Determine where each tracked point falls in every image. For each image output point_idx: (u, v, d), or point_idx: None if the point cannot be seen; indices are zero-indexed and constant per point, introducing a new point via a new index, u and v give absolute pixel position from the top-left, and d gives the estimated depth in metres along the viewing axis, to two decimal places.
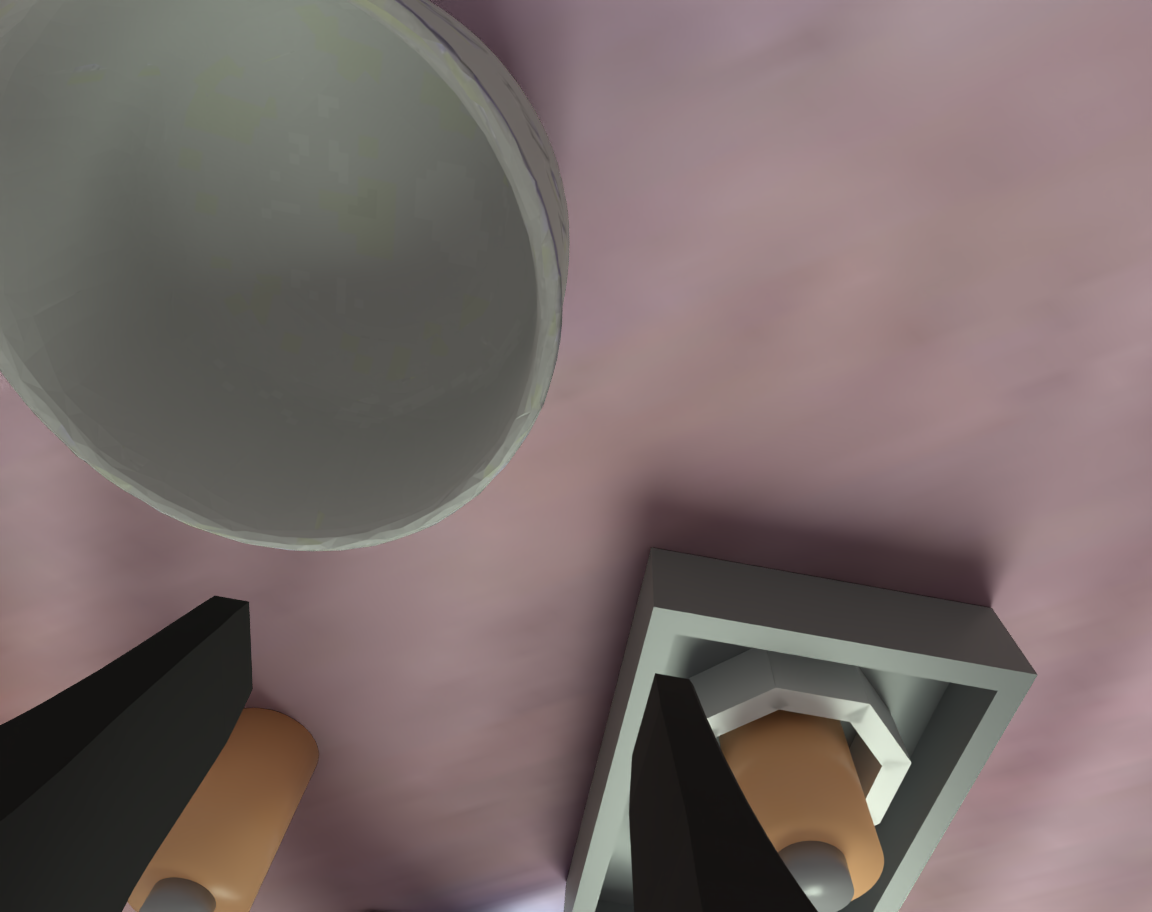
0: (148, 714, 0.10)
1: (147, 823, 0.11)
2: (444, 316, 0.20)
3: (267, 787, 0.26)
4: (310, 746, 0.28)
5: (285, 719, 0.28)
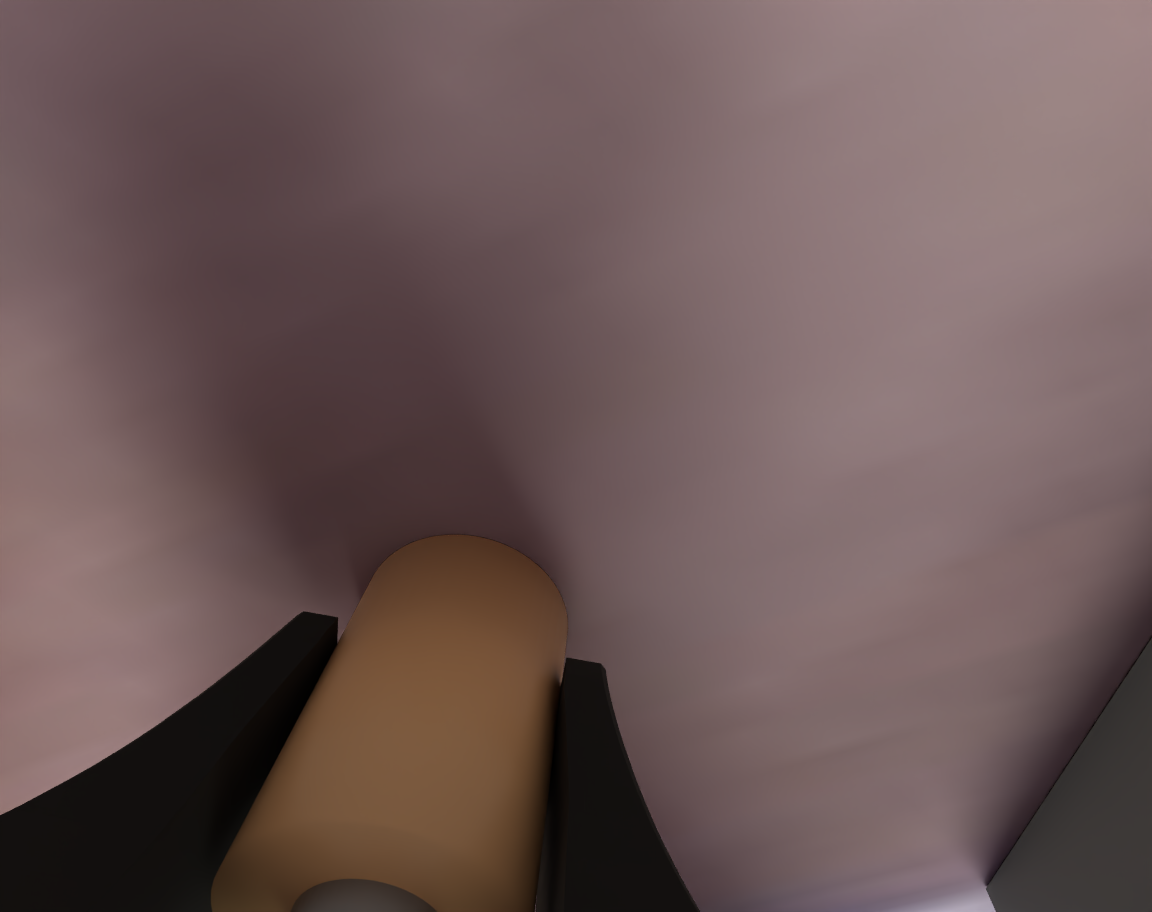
0: (259, 734, 0.10)
1: None
2: None
3: (521, 677, 0.11)
4: (562, 615, 0.14)
5: (516, 556, 0.14)
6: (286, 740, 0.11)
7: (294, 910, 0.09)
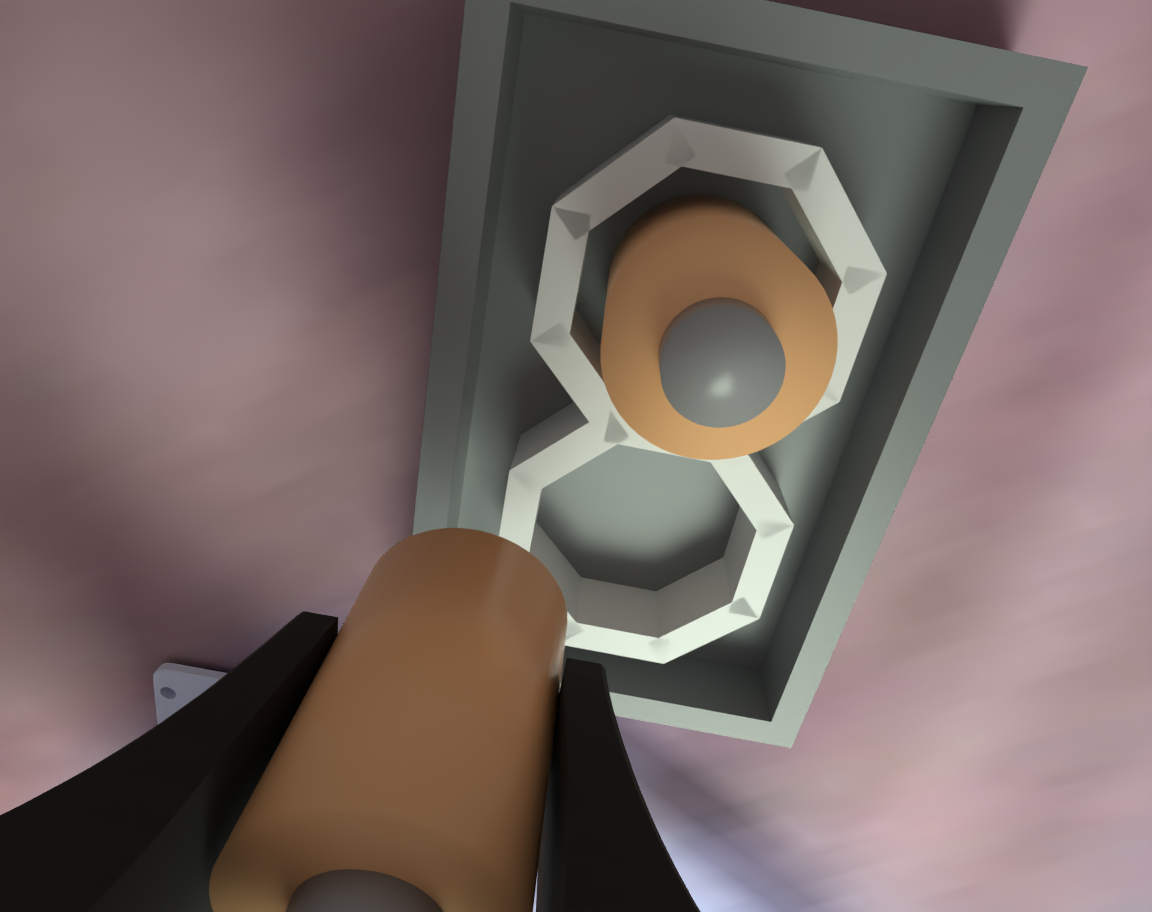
0: (258, 734, 0.10)
1: None
2: None
3: (521, 670, 0.11)
4: (562, 609, 0.14)
5: (516, 550, 0.14)
6: None
7: (293, 900, 0.09)
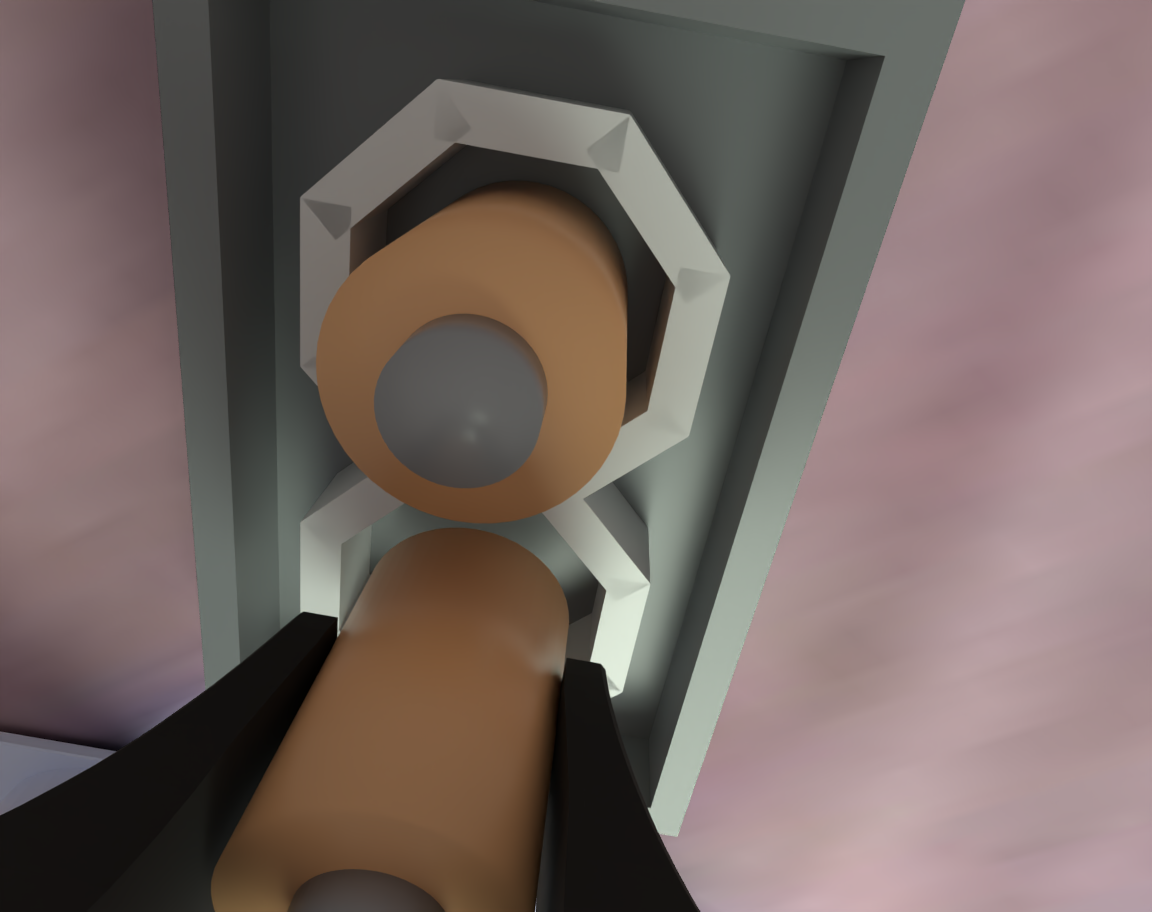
0: (258, 734, 0.10)
1: None
2: None
3: (523, 669, 0.11)
4: (564, 608, 0.14)
5: (518, 550, 0.14)
6: (287, 731, 0.11)
7: (295, 900, 0.09)
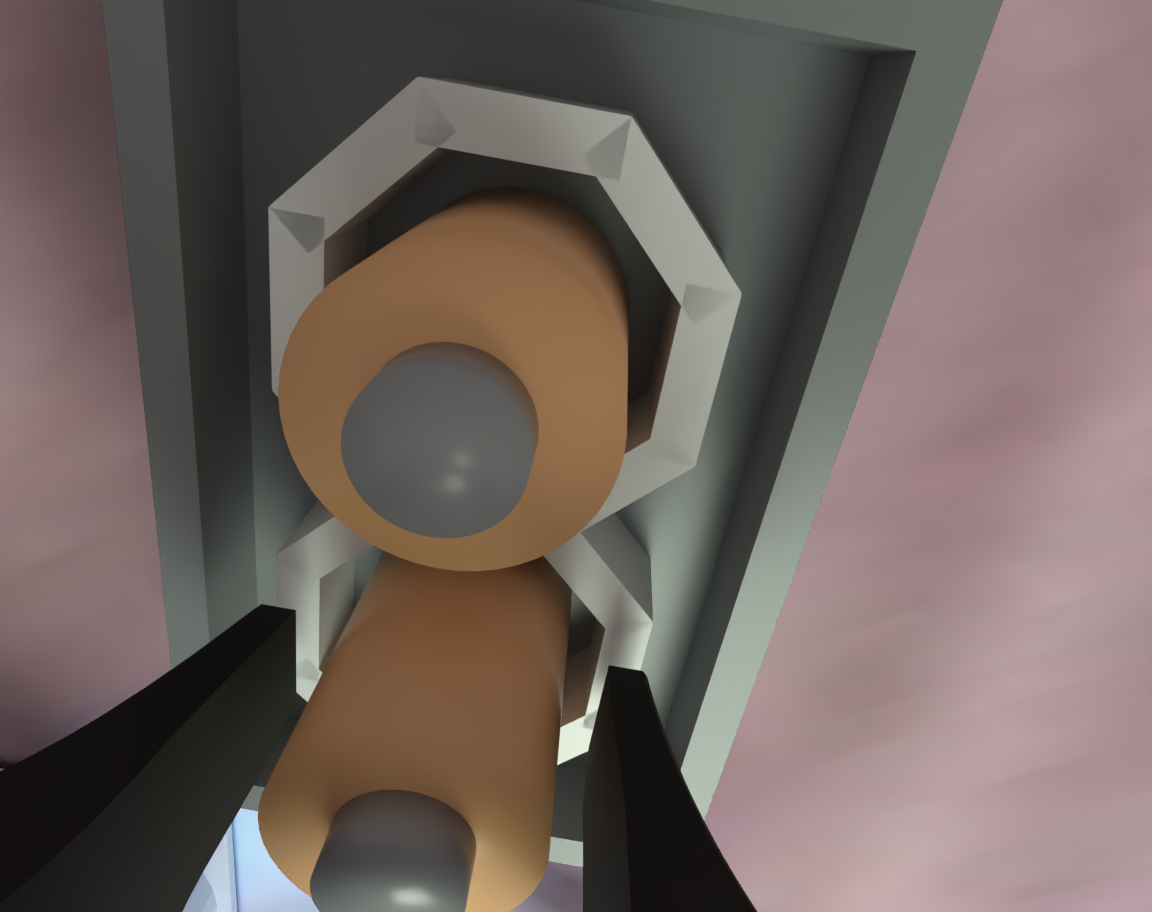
0: (206, 724, 0.10)
1: (202, 833, 0.11)
2: None
3: (535, 622, 0.12)
4: None
5: None
6: (320, 677, 0.12)
7: (336, 819, 0.10)
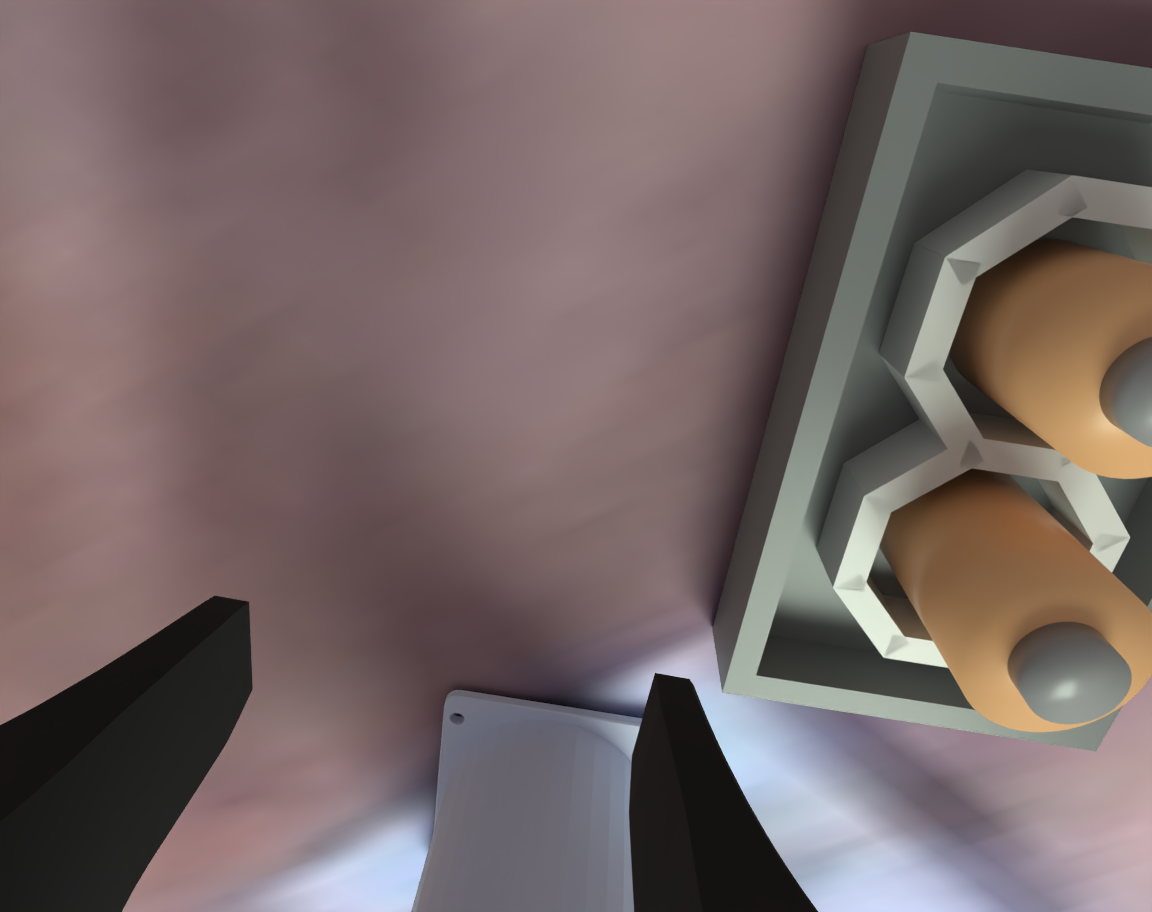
0: (148, 714, 0.10)
1: (147, 823, 0.11)
2: None
3: None
4: None
5: None
6: (950, 566, 0.17)
7: (1029, 641, 0.15)
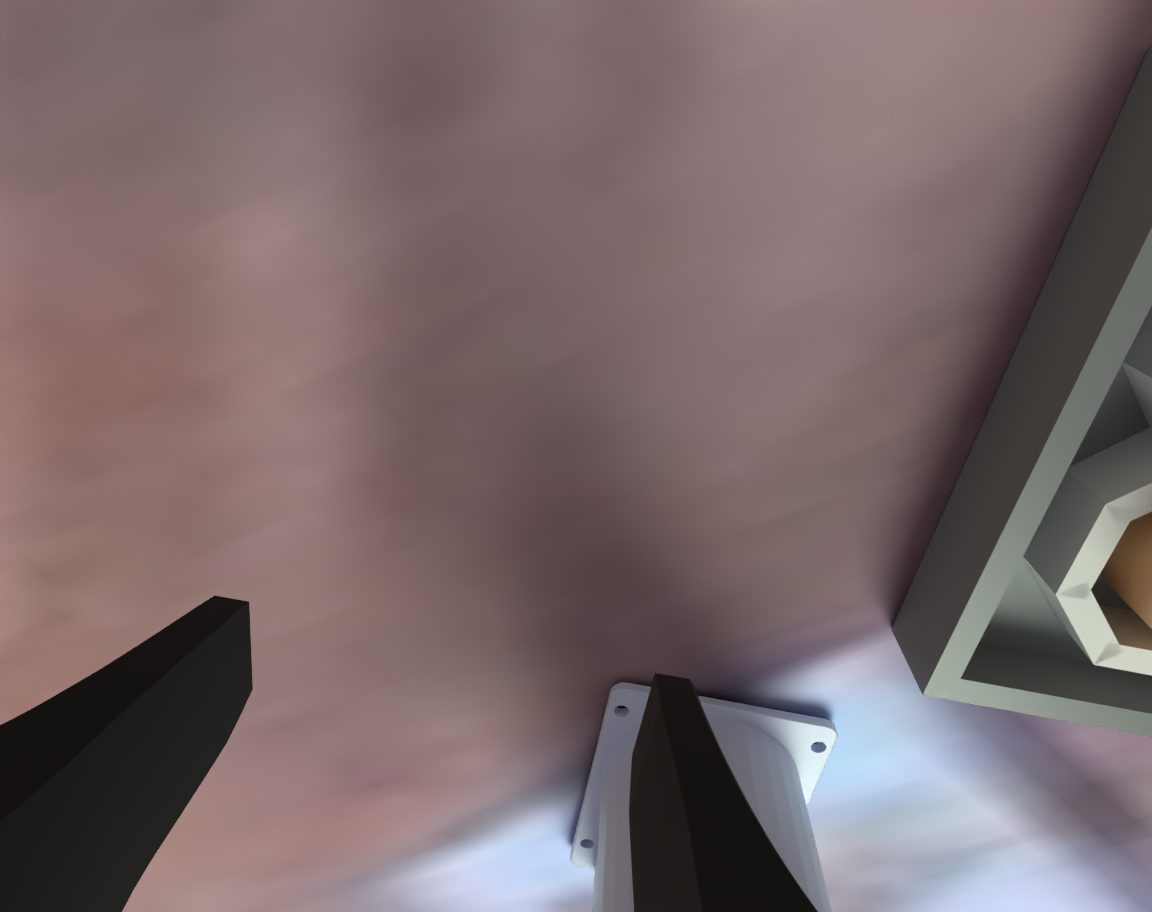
0: (148, 714, 0.10)
1: (147, 823, 0.11)
2: None
3: None
4: None
5: None
6: None
7: None
